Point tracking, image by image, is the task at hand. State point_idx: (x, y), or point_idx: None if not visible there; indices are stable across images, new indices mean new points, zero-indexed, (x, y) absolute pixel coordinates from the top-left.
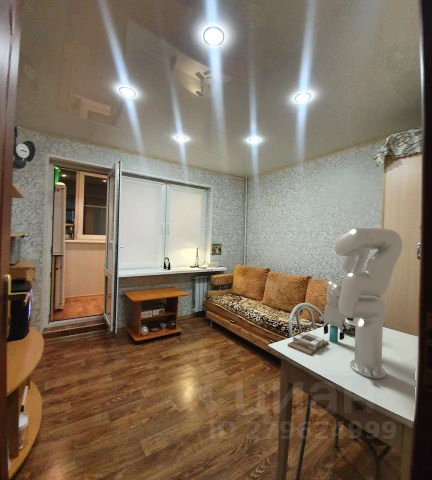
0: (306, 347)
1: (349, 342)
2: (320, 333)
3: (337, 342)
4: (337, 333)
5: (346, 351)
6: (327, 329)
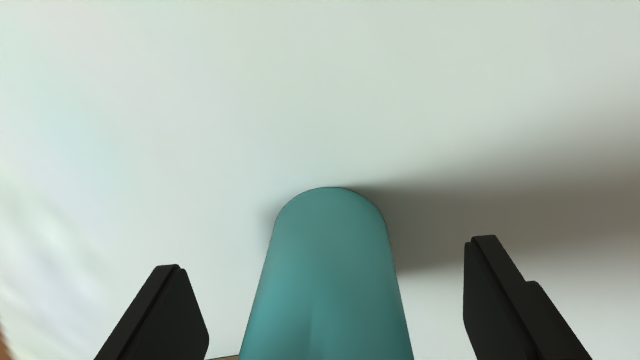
0: None
1: (490, 22)
2: (27, 169)
3: (385, 226)
4: (412, 352)
5: (586, 332)
6: (162, 349)
